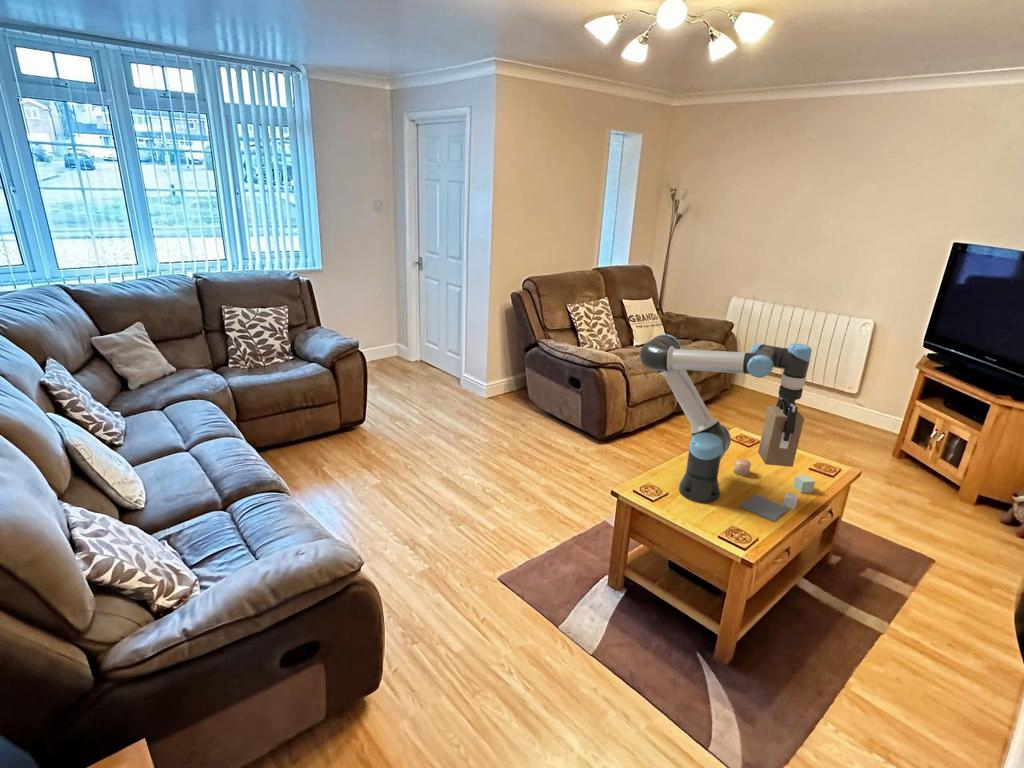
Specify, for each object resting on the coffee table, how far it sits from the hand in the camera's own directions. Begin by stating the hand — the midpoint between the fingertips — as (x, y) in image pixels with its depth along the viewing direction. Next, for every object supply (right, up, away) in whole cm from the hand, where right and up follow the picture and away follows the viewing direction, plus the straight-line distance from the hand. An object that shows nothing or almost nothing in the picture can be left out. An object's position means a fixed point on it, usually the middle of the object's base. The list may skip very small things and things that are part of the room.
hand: (778, 441), depth 204 cm
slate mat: (-6, -25, -1) cm, 26 cm away
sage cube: (+16, -21, +13) cm, 29 cm away
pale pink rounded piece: (-4, -16, +25) cm, 30 cm away
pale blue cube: (+5, -24, +2) cm, 25 cm away
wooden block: (0, -8, +3) cm, 8 cm away
